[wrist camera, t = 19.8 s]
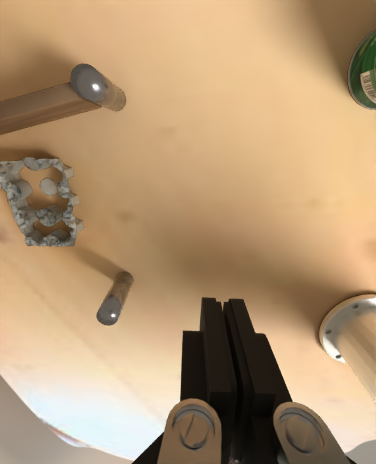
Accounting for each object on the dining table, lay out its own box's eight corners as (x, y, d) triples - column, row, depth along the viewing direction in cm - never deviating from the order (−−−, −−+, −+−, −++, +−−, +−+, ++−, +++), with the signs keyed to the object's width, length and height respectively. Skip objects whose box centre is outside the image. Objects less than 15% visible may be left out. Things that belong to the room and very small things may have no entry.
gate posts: (125, 87, 26) (99, 64, 19) (133, 286, 35) (118, 325, 27) (103, 86, 26) (68, 62, 19) (117, 286, 35) (97, 324, 27)
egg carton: (15, 156, 29) (-11, 157, 25) (77, 157, 29) (60, 159, 25) (33, 238, 33) (12, 250, 29) (88, 239, 33) (74, 251, 29)
